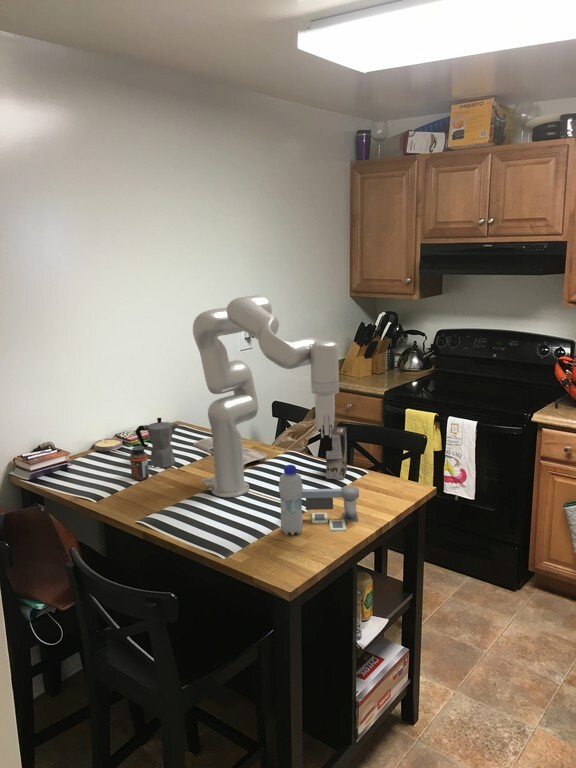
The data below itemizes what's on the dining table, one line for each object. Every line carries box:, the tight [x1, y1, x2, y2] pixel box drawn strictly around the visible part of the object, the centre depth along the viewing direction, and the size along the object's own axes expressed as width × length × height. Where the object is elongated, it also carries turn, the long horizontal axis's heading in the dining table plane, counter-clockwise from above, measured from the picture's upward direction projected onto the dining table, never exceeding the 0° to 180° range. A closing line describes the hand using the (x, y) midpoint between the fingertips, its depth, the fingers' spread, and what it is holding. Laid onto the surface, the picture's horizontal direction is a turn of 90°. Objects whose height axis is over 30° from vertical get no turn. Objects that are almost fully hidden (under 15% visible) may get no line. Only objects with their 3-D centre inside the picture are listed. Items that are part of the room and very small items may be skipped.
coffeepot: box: [135, 417, 179, 469], centre depth 229 cm, size 15×9×18 cm, turn 103°
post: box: [341, 498, 359, 522], centre depth 183 cm, size 4×4×7 cm
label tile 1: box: [311, 512, 329, 524], centre depth 184 cm, size 4×6×1 cm
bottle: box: [278, 464, 304, 536], centre depth 174 cm, size 7×7×20 cm
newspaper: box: [192, 437, 269, 469], centre depth 240 cm, size 35×12×4 cm, turn 40°
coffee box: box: [325, 426, 348, 480], centre depth 215 cm, size 9×6×16 cm
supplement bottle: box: [129, 445, 150, 481], centre depth 217 cm, size 6×6×11 cm
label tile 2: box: [328, 519, 347, 532], centre depth 179 cm, size 4×6×1 cm
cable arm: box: [301, 485, 360, 511], centre depth 182 cm, size 21×5×6 cm, turn 89°
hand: (326, 450), depth 174 cm, fingers closed
